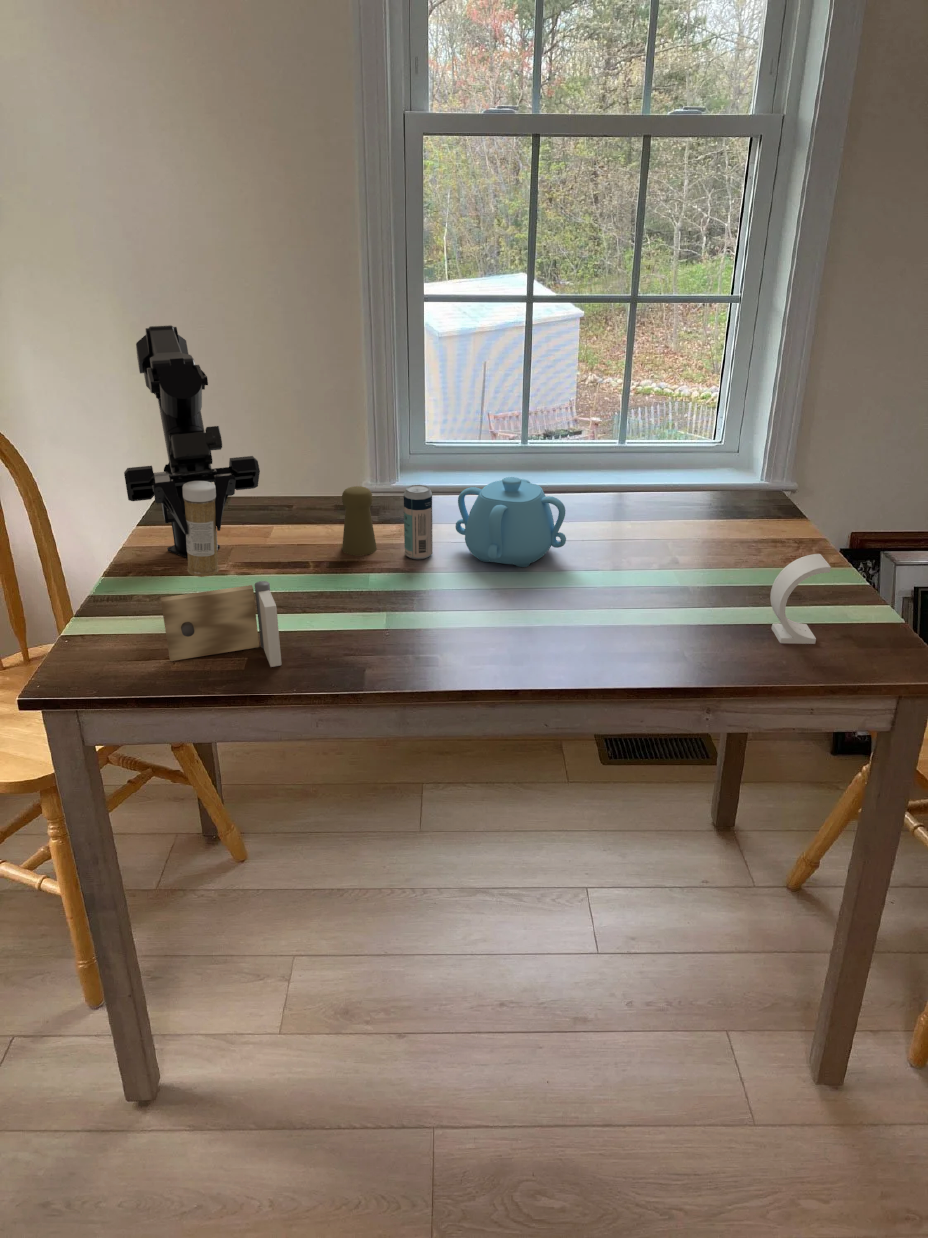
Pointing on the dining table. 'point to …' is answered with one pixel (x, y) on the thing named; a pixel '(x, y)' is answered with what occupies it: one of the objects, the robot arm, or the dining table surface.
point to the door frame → (268, 623)
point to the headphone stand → (784, 587)
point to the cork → (358, 522)
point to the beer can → (418, 521)
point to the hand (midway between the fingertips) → (202, 531)
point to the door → (210, 622)
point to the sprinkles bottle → (201, 528)
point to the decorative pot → (510, 522)
